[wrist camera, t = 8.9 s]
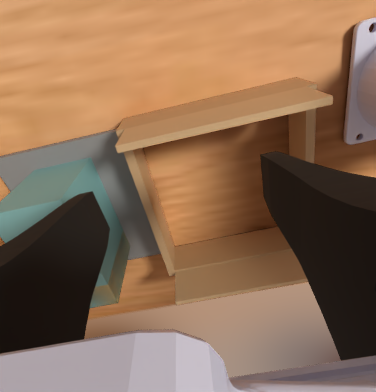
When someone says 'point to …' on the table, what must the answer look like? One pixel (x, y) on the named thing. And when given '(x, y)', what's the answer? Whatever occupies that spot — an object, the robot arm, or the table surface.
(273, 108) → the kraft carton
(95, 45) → the table surface
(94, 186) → the teal box
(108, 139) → the slate mat
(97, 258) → the robot arm
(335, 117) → the table surface
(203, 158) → the table surface
